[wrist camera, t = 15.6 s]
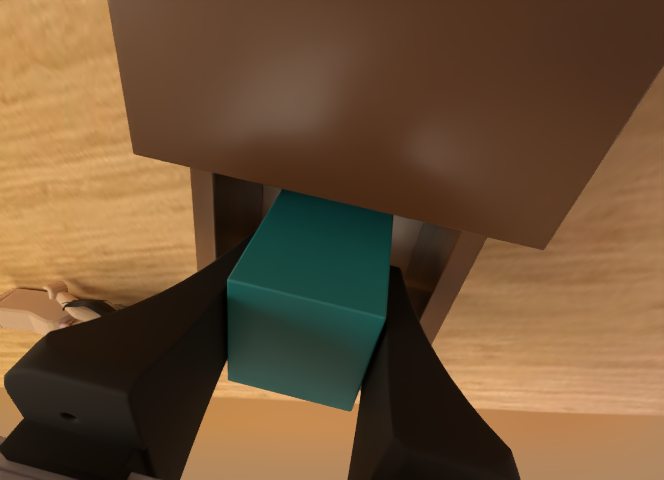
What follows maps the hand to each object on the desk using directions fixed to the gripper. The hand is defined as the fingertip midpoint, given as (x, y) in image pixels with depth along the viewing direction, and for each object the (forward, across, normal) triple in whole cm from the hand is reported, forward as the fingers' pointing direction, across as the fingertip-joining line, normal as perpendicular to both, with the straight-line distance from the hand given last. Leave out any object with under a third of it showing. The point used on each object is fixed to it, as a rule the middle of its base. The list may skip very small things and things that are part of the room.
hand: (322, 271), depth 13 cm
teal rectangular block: (+1, 0, 0) cm, 1 cm away
